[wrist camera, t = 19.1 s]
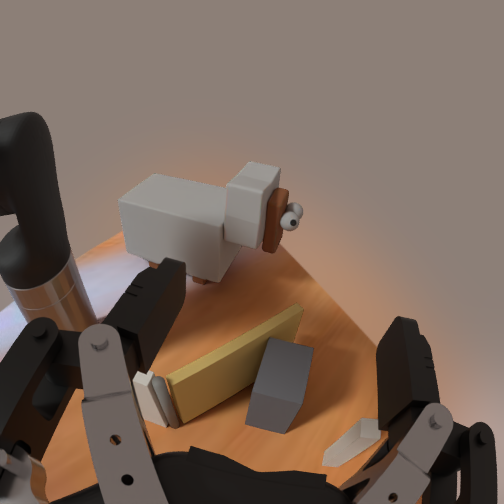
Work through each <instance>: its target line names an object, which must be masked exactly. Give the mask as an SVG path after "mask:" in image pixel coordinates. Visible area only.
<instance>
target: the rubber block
mask: <svg viewBox="0 0 504 504" xmlns="http://www.w3.org/2000/svg"><path fill="white" fill-rule="evenodd" d="M313 350H314V348H312V347H308V346H304V345H300V344H295V343H291V342H287V341H283V340H279V339H276V338H272V337H269V340H268V343H267V346H266V350H265V353H264V356H263V359H262V362H261V365H260V368H259V372H258V375H257V378H256V381H255V384H254V387H253V390H252V394H251V399H250V403H249V408H248V412H247V417H246V421H245V424H246V425H249V426H253V427H257V428H261V429H265V430H269V431H273V432H277V433H281V434H285V432H286V431H287V429H288V427H289V426H290V424H291V423H292V421H293V419H294V418H295V416H296V414H297V413H298V411H299V409H300V408H301V406H302V404H303V400H304V395H305V390H306V386H307V381H308V376H309V371H310V366H311V361H312V355H313Z"/></svg>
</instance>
